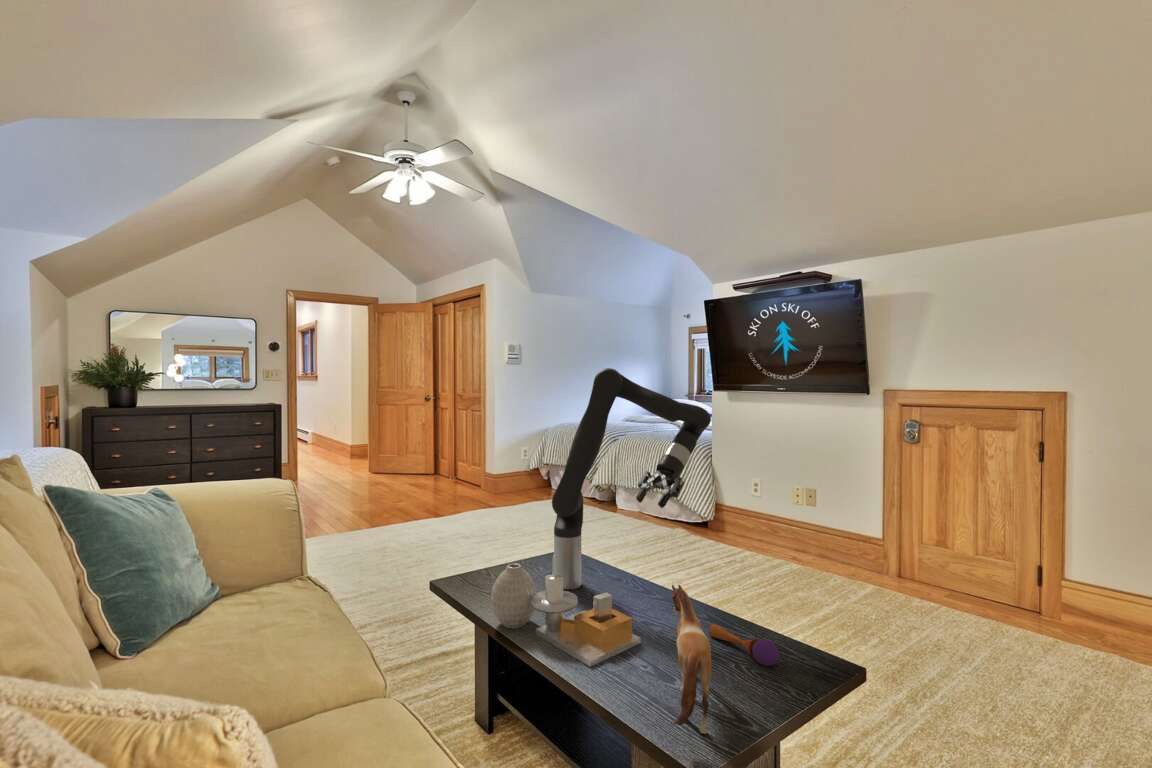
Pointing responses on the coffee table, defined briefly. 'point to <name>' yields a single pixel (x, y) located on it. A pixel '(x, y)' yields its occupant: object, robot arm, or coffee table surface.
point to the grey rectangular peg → (602, 607)
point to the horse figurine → (691, 657)
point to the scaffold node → (580, 626)
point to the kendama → (749, 645)
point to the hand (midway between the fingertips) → (649, 503)
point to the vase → (513, 597)
